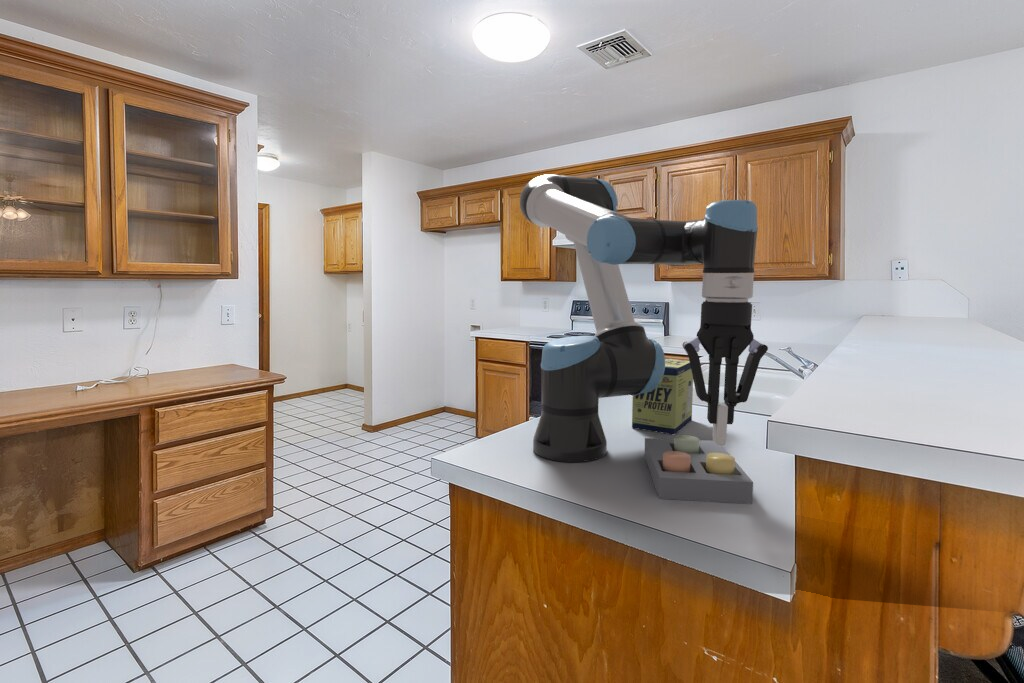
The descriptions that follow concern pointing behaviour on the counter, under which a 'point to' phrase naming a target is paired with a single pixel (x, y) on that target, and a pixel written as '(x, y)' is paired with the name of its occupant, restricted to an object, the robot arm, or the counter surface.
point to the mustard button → (720, 463)
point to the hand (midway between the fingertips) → (718, 442)
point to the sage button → (686, 444)
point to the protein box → (666, 400)
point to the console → (696, 476)
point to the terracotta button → (676, 461)
